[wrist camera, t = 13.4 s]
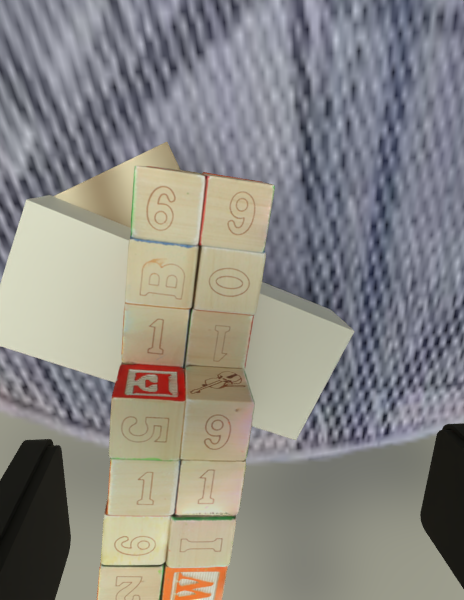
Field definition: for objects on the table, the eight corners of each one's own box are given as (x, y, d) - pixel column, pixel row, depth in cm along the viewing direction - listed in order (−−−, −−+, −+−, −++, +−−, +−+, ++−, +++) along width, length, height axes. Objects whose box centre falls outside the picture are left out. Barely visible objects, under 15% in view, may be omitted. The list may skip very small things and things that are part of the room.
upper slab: (49, 195, 30) (26, 199, 26) (331, 310, 36) (354, 331, 31) (10, 315, 33) (-18, 340, 28) (281, 406, 38) (295, 440, 33)
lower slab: (168, 146, 35) (167, 141, 30) (276, 373, 43) (288, 398, 38) (61, 197, 35) (43, 201, 31) (188, 415, 43) (189, 445, 38)
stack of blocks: (148, 163, 26) (126, 159, 14) (247, 179, 27) (300, 185, 15) (123, 455, 32) (93, 620, 20) (204, 458, 33) (220, 617, 21)
